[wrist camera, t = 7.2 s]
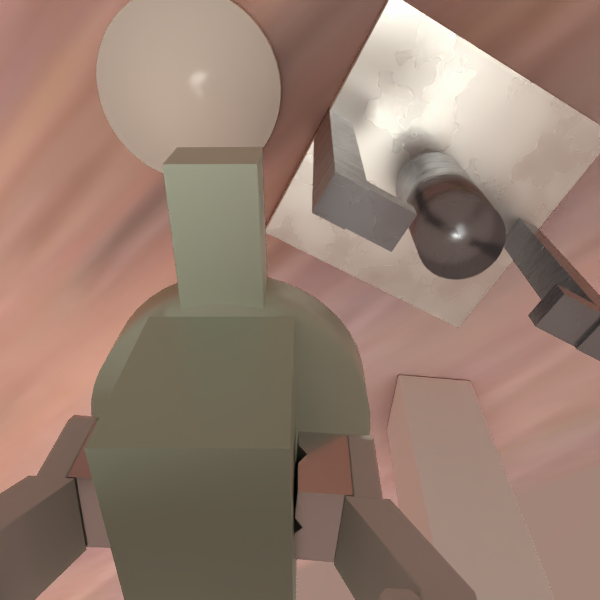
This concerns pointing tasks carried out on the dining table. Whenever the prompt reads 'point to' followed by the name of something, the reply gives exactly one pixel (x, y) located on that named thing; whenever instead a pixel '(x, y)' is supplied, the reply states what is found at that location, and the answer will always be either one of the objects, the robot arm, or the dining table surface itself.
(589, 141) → the twin post base plate
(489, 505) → the milk
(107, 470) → the pale green disc-and-bar piece
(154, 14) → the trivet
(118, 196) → the dining table surface
